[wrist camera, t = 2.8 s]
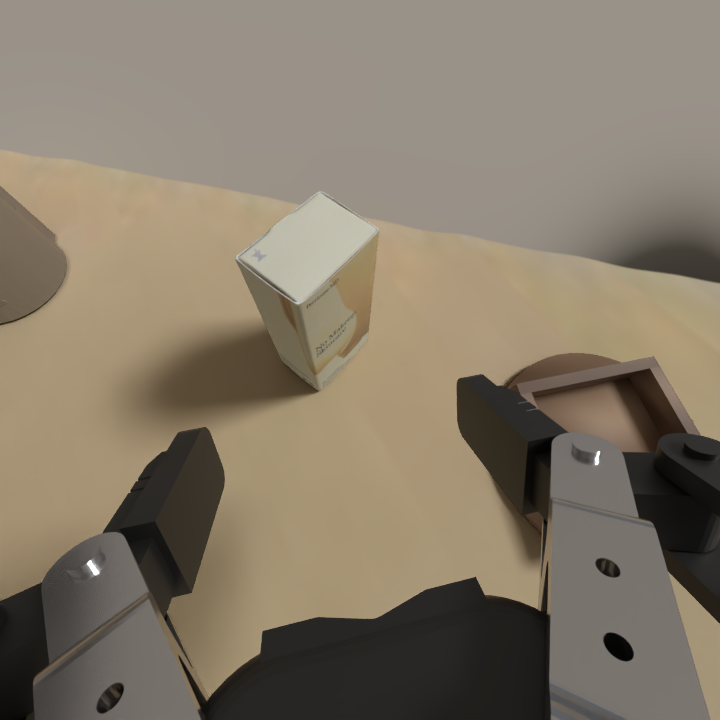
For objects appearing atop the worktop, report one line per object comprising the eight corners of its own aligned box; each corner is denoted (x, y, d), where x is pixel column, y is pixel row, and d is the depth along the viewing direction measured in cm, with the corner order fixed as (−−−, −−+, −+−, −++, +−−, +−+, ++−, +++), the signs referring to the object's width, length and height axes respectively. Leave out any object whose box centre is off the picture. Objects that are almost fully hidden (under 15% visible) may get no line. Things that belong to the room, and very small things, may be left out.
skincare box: (320, 394, 26) (293, 312, 15) (279, 360, 27) (226, 260, 16) (371, 337, 28) (384, 226, 16) (332, 308, 29) (319, 185, 18)
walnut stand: (465, 375, 27) (478, 362, 24) (635, 342, 28) (663, 326, 25) (542, 595, 21) (569, 608, 18) (749, 540, 22) (801, 545, 20)
